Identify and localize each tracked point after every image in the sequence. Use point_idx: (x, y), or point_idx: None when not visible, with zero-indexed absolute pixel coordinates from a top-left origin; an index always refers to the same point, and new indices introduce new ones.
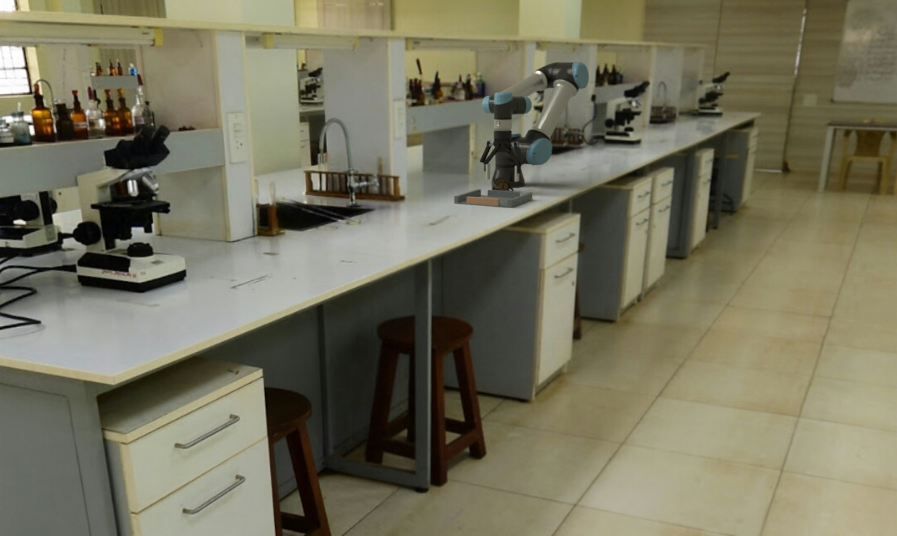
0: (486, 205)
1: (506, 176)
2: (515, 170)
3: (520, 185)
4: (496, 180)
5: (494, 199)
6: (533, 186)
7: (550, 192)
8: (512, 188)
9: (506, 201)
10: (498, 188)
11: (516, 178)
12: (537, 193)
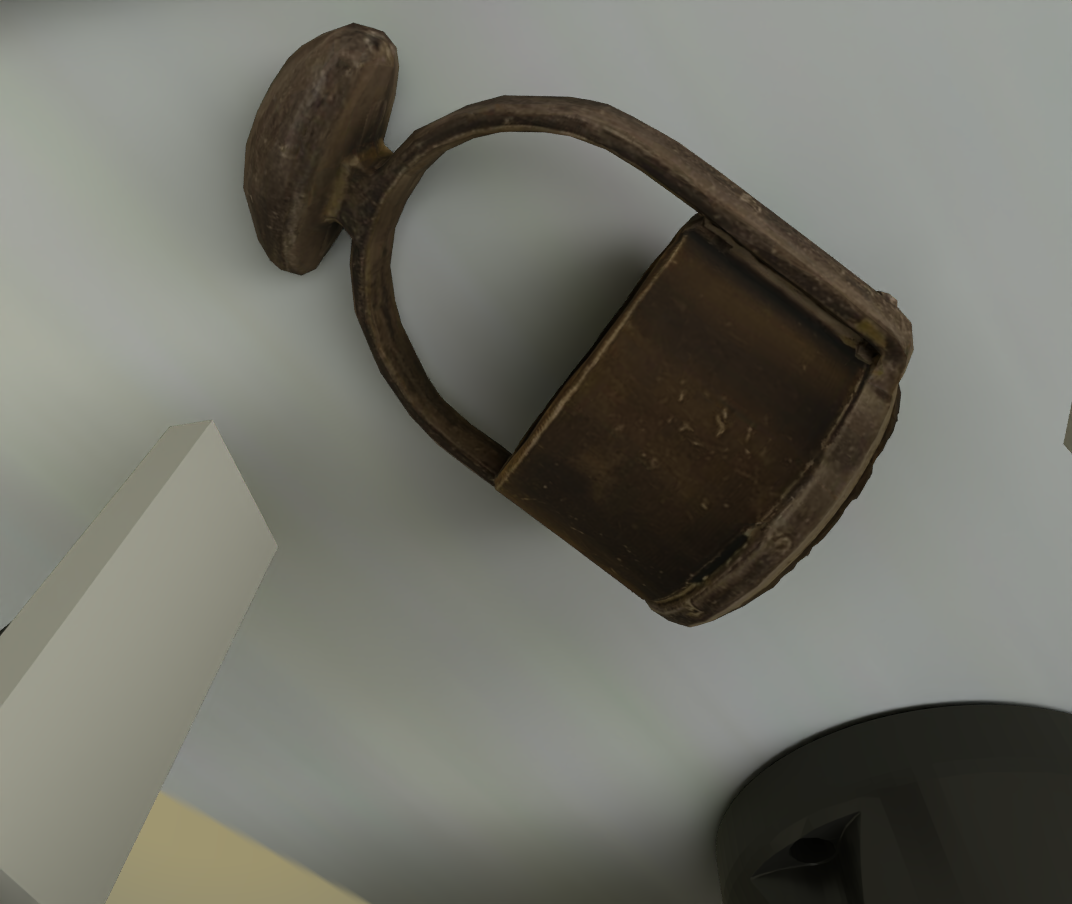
0: None
1: (929, 896)
2: (20, 650)
3: (723, 836)
4: (800, 389)
5: None
6: (608, 883)
7: None
8: (459, 452)
9: None
10: (554, 99)
11: (133, 483)
12: None
